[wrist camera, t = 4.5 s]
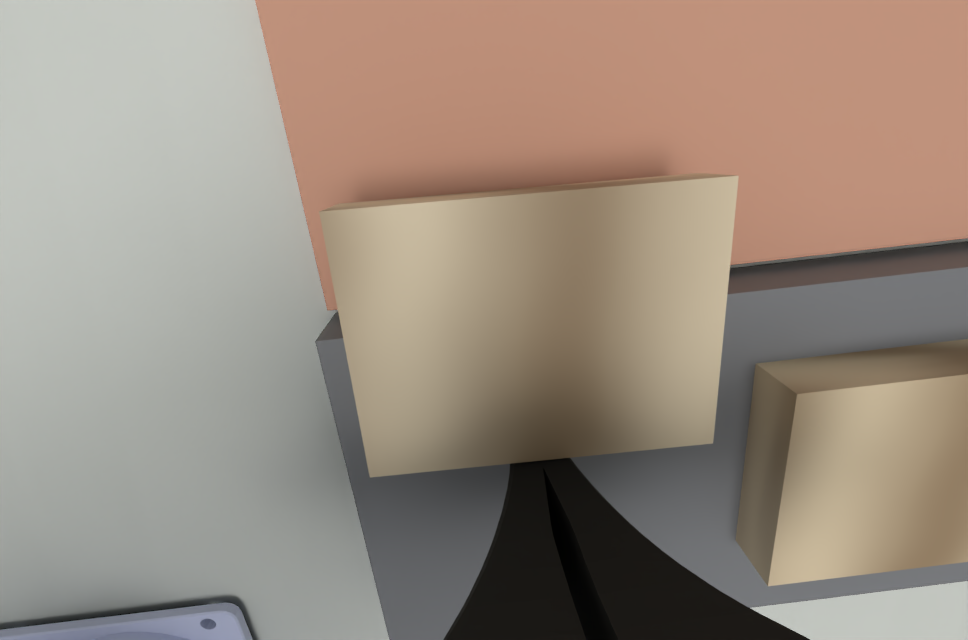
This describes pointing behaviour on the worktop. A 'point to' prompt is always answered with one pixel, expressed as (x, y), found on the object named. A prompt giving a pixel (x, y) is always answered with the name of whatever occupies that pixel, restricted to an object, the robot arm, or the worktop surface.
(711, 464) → the grey board
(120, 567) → the worktop surface
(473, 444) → the inner tile
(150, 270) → the worktop surface
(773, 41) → the mat
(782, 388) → the outer tile
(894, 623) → the worktop surface
